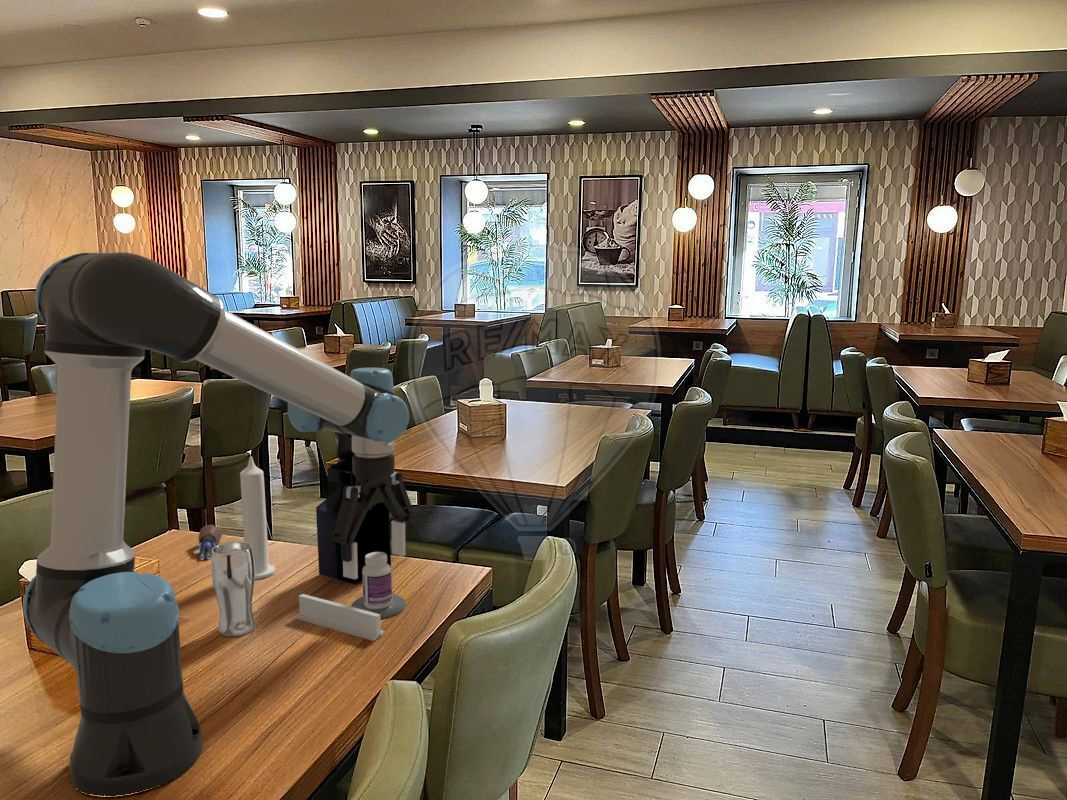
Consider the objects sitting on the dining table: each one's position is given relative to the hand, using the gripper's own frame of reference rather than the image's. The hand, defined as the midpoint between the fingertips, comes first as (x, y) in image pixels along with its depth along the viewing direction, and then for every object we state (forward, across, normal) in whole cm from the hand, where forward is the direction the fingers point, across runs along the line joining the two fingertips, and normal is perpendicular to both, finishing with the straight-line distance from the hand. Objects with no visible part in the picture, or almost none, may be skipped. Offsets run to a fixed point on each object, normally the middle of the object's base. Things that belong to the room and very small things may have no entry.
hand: (375, 565), depth 144 cm
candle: (+9, +2, +33) cm, 34 cm away
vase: (+8, +12, +16) cm, 22 cm away
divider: (+8, -9, +1) cm, 12 cm away
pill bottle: (+8, 0, 0) cm, 8 cm away
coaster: (+8, 0, 0) cm, 8 cm away
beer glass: (+9, -18, +16) cm, 26 cm away
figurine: (+9, +6, +53) cm, 54 cm away
